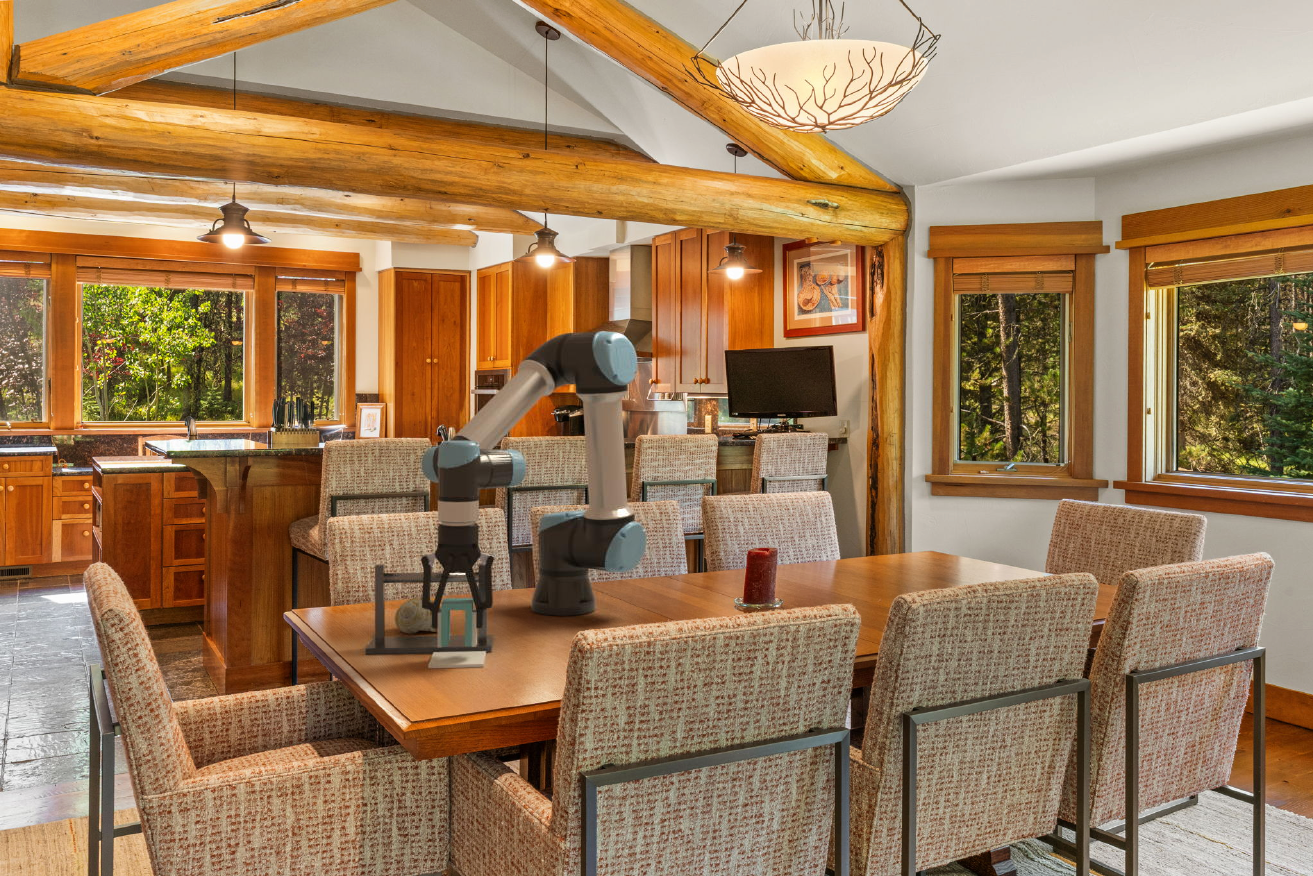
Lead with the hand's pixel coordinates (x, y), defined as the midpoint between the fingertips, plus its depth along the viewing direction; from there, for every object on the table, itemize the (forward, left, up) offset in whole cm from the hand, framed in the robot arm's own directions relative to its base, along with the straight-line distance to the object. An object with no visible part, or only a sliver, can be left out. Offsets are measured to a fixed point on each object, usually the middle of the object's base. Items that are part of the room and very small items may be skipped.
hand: (457, 645), depth 184 cm
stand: (+6, -11, -3) cm, 13 cm away
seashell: (+10, -25, -3) cm, 27 cm away
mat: (0, 0, -3) cm, 3 cm away
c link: (0, 0, 0) cm, 0 cm away
